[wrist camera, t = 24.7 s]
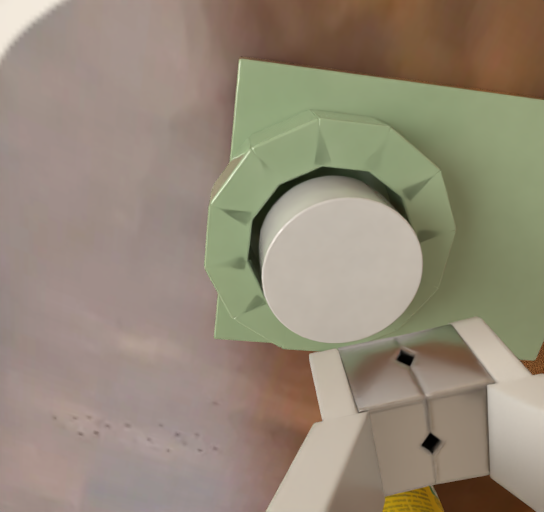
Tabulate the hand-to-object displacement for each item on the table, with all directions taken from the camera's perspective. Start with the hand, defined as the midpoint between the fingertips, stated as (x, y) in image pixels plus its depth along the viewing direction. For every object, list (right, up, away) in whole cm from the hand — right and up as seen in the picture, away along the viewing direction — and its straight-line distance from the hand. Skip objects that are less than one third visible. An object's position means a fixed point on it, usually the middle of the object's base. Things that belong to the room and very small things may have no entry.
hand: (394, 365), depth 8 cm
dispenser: (+2, +4, +9) cm, 10 cm away
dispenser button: (-1, +2, +5) cm, 5 cm away
